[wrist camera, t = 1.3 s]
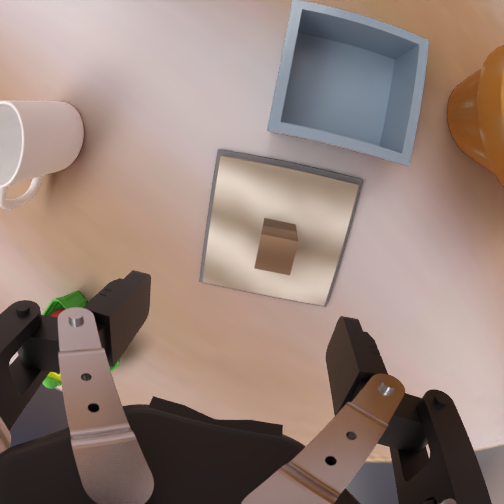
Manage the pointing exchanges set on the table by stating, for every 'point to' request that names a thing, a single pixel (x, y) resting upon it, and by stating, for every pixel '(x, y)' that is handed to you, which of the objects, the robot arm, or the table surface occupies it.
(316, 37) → the blue gray open box
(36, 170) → the cup
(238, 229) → the lid
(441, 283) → the table surface
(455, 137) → the flower pot
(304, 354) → the table surface
